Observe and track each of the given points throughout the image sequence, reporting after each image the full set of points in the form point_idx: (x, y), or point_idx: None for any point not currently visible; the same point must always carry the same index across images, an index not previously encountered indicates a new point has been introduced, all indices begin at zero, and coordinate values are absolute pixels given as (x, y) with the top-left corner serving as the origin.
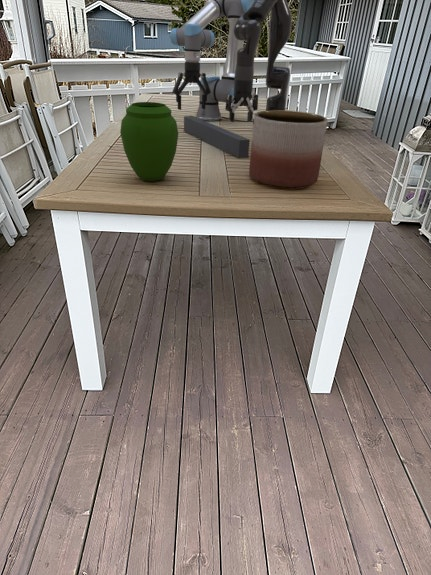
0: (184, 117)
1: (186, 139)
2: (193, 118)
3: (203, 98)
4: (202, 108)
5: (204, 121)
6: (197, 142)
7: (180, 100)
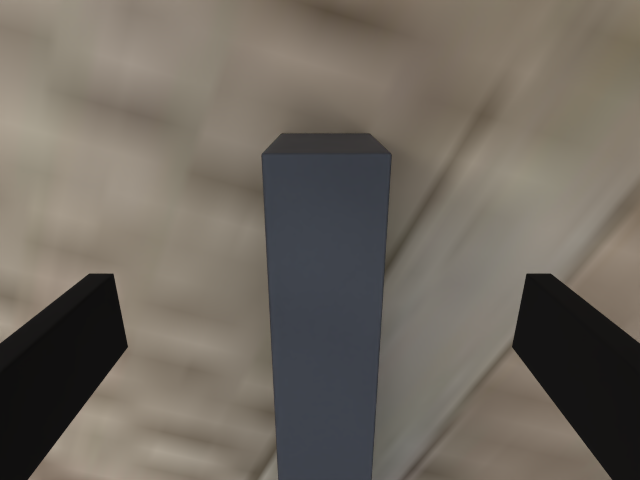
0: (264, 169)
1: (196, 388)
2: (319, 311)
3: (625, 443)
4: (521, 299)
5: (357, 456)
6: (238, 464)
7: (28, 455)
